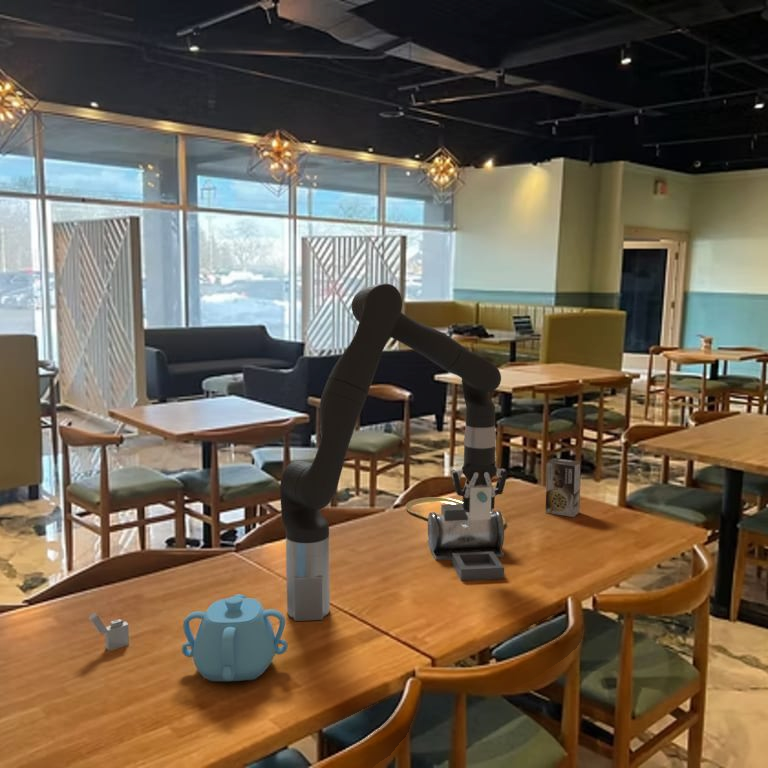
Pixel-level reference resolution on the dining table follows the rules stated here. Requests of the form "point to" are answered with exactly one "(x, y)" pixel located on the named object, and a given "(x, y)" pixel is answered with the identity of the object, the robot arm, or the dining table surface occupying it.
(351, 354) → the robot arm
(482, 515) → the white box with button
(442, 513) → the motor
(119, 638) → the lighter
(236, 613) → the decorative pot
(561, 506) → the coffee box
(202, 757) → the dining table surface
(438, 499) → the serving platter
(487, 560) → the tray
